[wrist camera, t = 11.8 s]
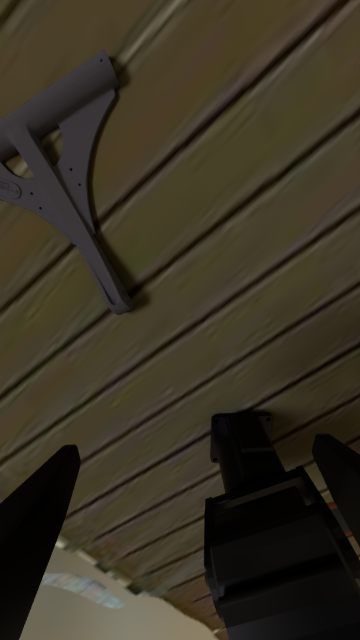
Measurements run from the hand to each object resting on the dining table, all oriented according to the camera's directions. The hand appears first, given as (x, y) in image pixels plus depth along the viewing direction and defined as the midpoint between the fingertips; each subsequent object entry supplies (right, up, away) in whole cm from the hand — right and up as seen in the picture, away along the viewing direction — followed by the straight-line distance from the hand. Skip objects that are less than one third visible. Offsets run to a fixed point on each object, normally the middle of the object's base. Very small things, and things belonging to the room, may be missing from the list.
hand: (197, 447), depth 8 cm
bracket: (-9, +12, +9) cm, 18 cm away
